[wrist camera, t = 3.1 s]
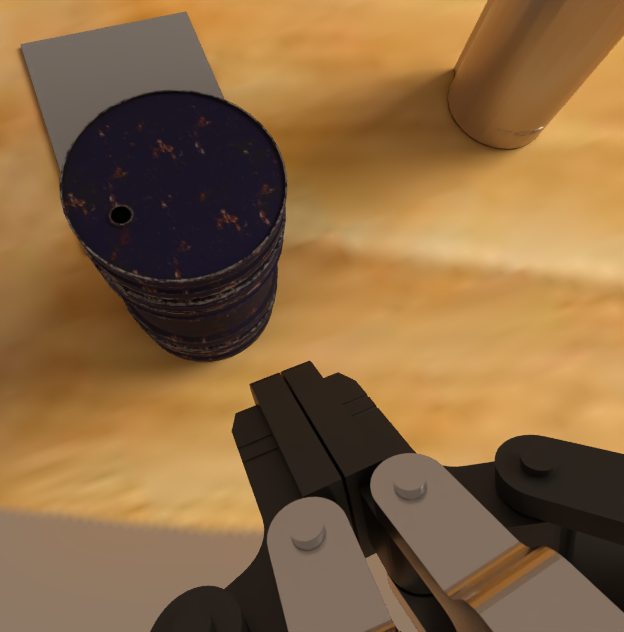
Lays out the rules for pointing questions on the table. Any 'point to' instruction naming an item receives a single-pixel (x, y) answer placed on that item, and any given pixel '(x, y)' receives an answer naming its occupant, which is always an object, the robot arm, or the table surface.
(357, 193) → the table surface
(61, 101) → the mat
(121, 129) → the dark ribbed cylinder
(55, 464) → the table surface
